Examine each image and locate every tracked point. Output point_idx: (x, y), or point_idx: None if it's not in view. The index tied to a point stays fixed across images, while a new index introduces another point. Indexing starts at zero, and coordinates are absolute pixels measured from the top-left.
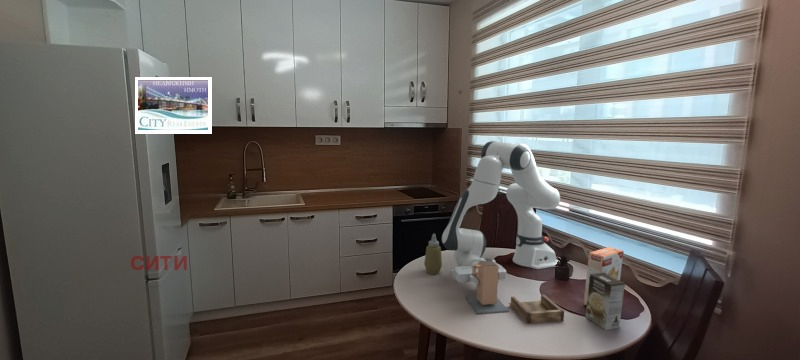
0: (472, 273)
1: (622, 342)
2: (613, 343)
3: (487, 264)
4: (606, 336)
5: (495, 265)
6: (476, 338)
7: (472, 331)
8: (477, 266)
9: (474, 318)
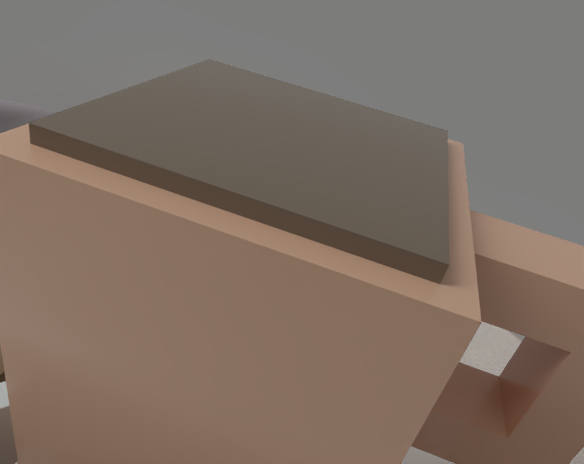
0: (558, 453)
1: (11, 103)
2: (42, 113)
3: (355, 123)
4: (4, 122)
5: (238, 71)
6: (493, 327)
7: (495, 368)
8: (555, 245)
9: (432, 456)
